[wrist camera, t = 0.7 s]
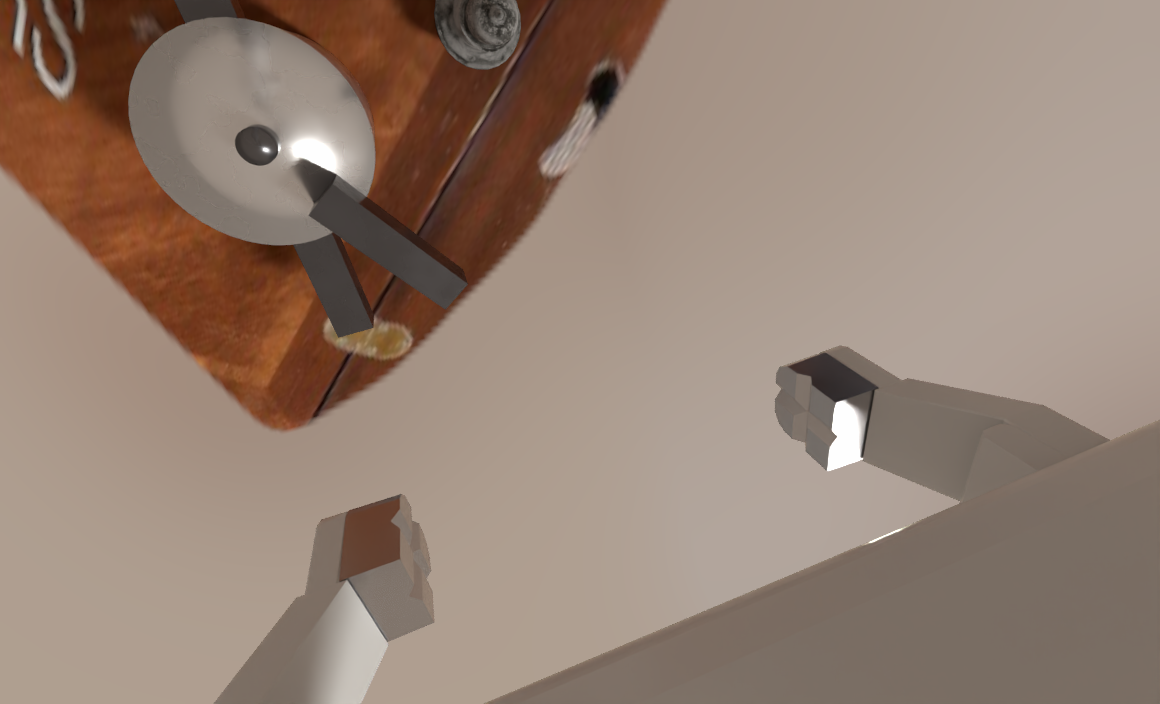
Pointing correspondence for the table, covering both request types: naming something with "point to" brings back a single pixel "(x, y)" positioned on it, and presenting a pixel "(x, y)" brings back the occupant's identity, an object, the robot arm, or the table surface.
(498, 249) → the table surface
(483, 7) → the grey round vessel
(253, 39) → the lid
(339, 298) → the pot
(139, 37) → the table surface
